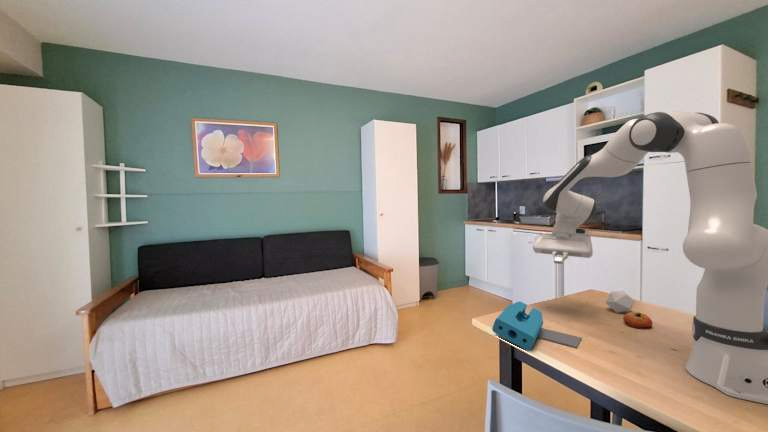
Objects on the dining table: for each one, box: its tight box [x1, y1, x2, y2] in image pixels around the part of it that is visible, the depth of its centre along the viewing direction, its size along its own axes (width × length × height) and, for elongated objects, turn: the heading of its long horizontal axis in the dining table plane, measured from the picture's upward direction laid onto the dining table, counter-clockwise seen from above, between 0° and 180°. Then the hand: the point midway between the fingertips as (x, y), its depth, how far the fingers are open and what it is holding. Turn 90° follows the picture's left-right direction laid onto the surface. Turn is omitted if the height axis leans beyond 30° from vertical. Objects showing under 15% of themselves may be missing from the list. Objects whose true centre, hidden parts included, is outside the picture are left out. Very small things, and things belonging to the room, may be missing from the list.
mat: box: [536, 327, 583, 349], centre depth 102 cm, size 20×8×1 cm, turn 48°
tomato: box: [622, 311, 653, 329], centre depth 108 cm, size 8×7×7 cm
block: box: [491, 301, 544, 351], centre depth 103 cm, size 12×5×20 cm
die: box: [605, 290, 636, 314], centre depth 122 cm, size 8×9×10 cm
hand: (558, 262), depth 115 cm, fingers closed
